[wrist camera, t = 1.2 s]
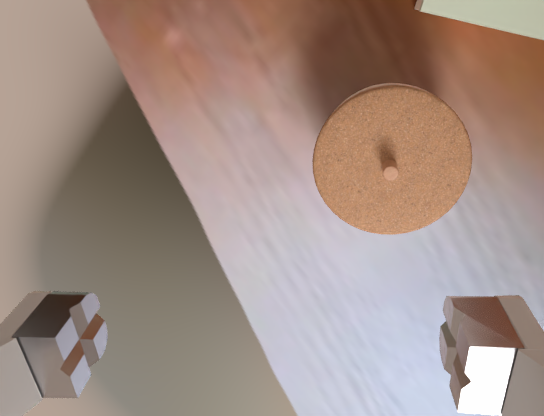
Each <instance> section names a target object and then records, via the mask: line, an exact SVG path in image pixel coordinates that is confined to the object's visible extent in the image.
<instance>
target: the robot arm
mask: <svg viewBox="0 0 544 416" xmlns="http://www.w3.org/2000/svg"><path fill="white" fill-rule="evenodd" d="M99 308H100V304H99V302H98V298H97V296H96V295H95V294H93V293H88V292H58V291H54V292H50V291H49V292H47V291H34V292H31V293H28V294H27V295H26V297H25V298H24V299H23V300H22V301H21V302H20V303H19V304H18V305H17V307H15V309H14V310H13V311H12V312H11V313H10V314H9V315H8V316H7V317H6V318H5V319H4V321H3V322H2V323H1V324H0V416H23V415H24V414H26V413H27V412H28V411H30V410H31V409H32V408H33V407H34V406H36V405H37V404H38V403H39V402H40V401H41V400H42V398H78V397H79V395H80V393H81V392H82V390H83V388H84V386H85V385H86V383H87V381H88V379H89V378H90V376H91V372H90V369H89V367H90V366H91V365H93V364H94V363H96V362H97V361H99V360H100V358H101V356H102V354H103V353H104V351H105V347H106V342H107V327H106V324H105V321H104V320H103V319H102V318H101V317H100V316H99V315H98V314H97V311H98V309H99ZM443 313H444V315H445V318H446V322H445V323H444V324H443V325H442V326H441V328H440V337H439V341H440V354H441V359H442V363H443V366H444V369H445V370H446V371H447V372H448V373H449V374H451V379H450V389H451V392H452V396H453V399H454V402H455V405H456V408H457V411H458V412H460V413H476V414H491V415H501V416H544V331H543V330H542V328H541V326H540V325H539V323H538V322H537V320H536V319H535V317H534V315H533V314H532V312H531V311H530V309H529V307H528V306H527V304H526V303H525V301H524V299H523V298H522V297H520V296H519V295H515V296H494V297H492V296H446V299H445V301H444V306H443Z"/></svg>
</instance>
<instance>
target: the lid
mask: <svg viewBox="0 0 544 416" xmlns="http://www.w3.org/2000/svg"><path fill="white" fill-rule="evenodd" d="M419 11H421V12H425V13H429V14H433V15H438V16H442V17H446V18H451V19H455V20H459V21H463V22H468V23H472V24H476V25H481V26H485V27H489V28H493V29H498V30H502V31H506V32H511V33H515V34H519V35H523V36H528V37H532V38H536V39H541V40H544V0H422V3H421V6H420V9H419Z"/></svg>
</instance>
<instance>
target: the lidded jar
mask: <svg viewBox="0 0 544 416" xmlns="http://www.w3.org/2000/svg"><path fill="white" fill-rule="evenodd" d="M471 164H472V150H471V143H470V140H469V136H468V133H467V131H466V129H465V127H464V125H463V122H462V121H461V120H460V118H459V117H458V116H457V114H456V113H455V111H453V110H452V109H451V108H450V107H449V106H448V105H447V104H446V103H445V102H444V101H442V100H441V99H439V98H438V97H437V96H435V95H433V94H431V93H430V92H428V91H426V90H423V89H421V88H419V87H416V86H412V85H408V84H401V83H383V84H378V85H373V86H370V87H367V88H365V89H362V90H360V91H358V92H356V93H355V94H353V95H351V96H350V97H348V98H347V99H346V100H344V101H343V102H342V103H341V104H340V105H339V106H338V107H337V108H336V109H335V110H334V111H333V113H332V114H331V115H330V116H329V118H328V119H327V121H326V122H325V124H324V125H323V127H322V129H321V131H320V133H319V135H318V138H317V141H316V144H315V148H314V154H313V174H314V178H315V183H316V186H317V188H318V191H319V193H320V195H321V197H322V198H323V200H324V202H325V203H326V204H327V206H328V207H329V208H330V209H331V210H332V212H334V213H335V214H336V215H337V216H338V217H339V218H340V219H342V220H343V221H345V222H347V223H348V224H350V225H352V226H354V227H356V228H358V229H361V230H364V231H367V232H371V233H377V234H401V233H407V232H411V231H415V230H418V229H420V228H423V227H425V226H427V225H429V224H431V223H433V222H434V221H436V220H438V219H439V218H440V217H442V216H443V215H444V214H445V213H447V212H448V211H449V210H450V209H451V208H452V206H453V205H454V204H455V203H456V202H457V200H458V199H459V197H460V196H461V194H462V193H463V191H464V189H465V187H466V184H467V182H468V179H469V175H470V172H471Z"/></svg>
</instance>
